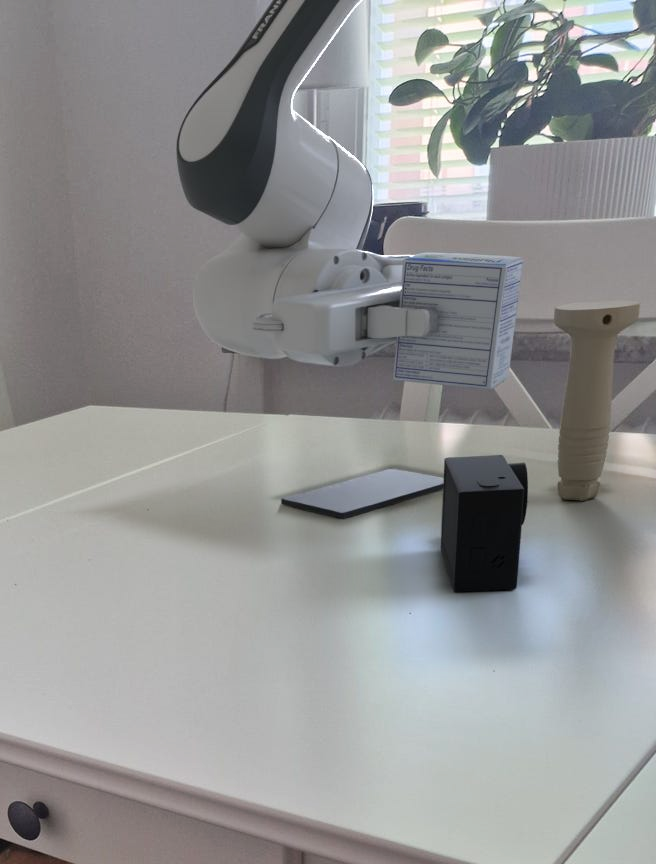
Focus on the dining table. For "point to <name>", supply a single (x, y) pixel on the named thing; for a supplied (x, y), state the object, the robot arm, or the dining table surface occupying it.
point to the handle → (588, 391)
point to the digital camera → (483, 521)
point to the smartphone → (365, 493)
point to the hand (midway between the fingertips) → (464, 316)
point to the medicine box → (460, 319)
